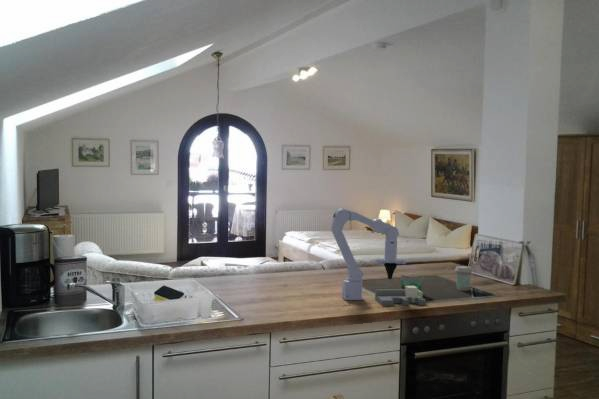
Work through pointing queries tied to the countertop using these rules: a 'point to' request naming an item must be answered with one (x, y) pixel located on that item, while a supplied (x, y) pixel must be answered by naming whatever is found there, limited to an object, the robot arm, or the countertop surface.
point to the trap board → (397, 297)
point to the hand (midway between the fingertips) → (389, 278)
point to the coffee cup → (463, 277)
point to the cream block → (411, 291)
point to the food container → (412, 281)
